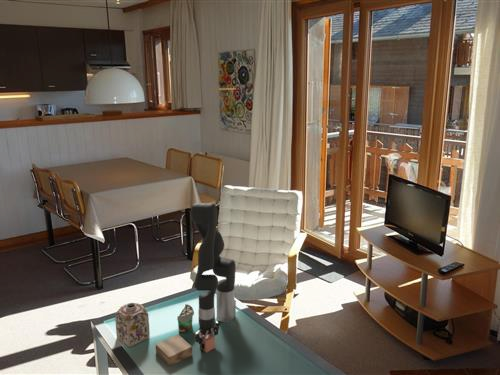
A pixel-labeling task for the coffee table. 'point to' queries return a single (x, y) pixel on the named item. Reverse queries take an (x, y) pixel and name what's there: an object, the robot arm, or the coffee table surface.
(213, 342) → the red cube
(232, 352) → the coffee table surface
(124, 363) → the coffee table surface
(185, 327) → the food container
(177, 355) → the walnut block
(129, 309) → the decorative jar
